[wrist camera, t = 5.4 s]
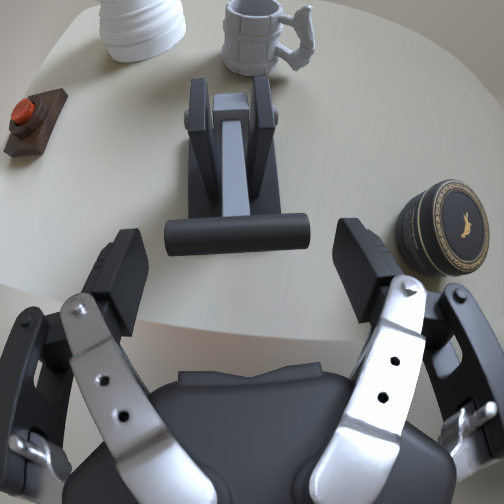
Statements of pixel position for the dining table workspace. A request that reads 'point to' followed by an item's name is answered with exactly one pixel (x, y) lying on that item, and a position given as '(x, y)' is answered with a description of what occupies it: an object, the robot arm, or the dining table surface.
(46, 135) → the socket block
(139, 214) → the dining table surface
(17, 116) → the button
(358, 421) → the robot arm
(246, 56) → the mug
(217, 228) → the switch lever
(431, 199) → the jar
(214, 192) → the dark stand
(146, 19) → the honey pot
